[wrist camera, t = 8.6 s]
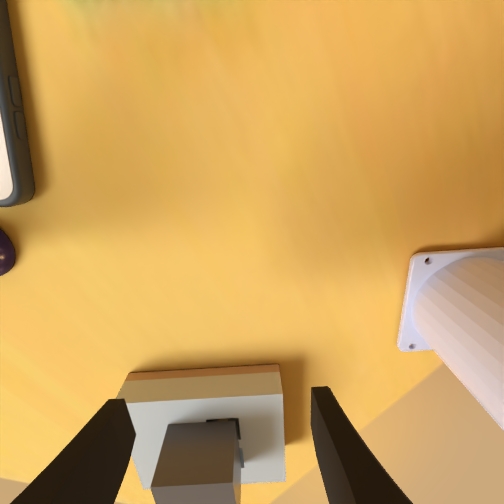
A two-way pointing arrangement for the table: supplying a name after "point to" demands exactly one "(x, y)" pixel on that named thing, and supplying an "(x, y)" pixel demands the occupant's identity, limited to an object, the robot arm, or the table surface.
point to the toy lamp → (6, 253)
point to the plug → (199, 464)
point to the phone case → (12, 125)
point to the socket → (210, 414)
